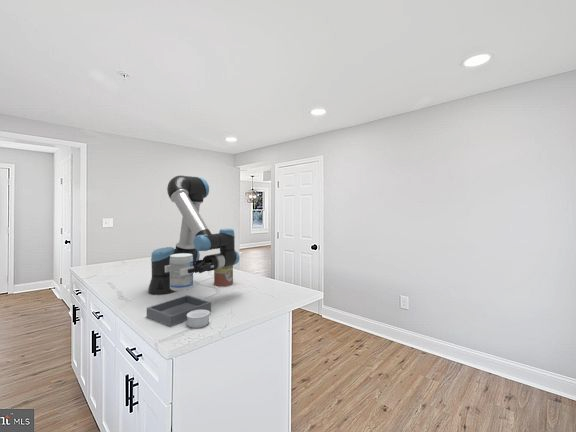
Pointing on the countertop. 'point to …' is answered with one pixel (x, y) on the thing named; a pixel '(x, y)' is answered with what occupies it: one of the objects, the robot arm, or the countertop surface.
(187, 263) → the supplement tub
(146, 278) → the countertop surface
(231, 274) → the canned food
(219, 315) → the countertop surface
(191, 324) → the ramekin
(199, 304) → the tray
